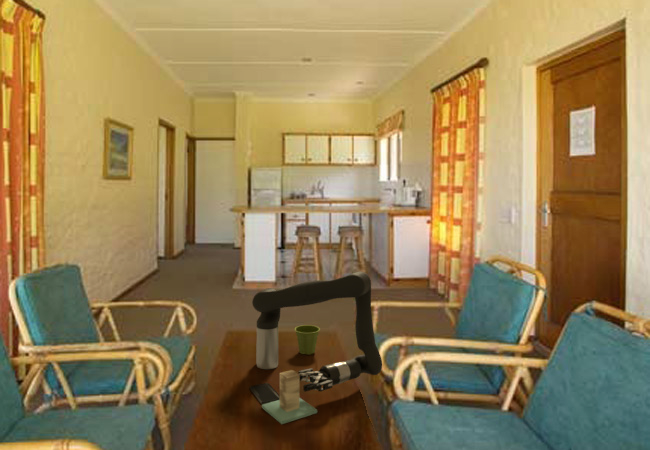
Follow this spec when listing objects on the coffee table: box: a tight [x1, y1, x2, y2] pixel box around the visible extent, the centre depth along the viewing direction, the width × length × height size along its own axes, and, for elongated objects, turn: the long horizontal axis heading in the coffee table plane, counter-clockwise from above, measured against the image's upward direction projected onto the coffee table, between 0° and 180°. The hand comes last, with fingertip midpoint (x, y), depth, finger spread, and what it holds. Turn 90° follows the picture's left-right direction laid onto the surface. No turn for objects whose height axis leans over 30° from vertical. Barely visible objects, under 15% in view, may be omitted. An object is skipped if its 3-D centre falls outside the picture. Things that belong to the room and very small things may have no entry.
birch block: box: [279, 369, 301, 412], centre depth 163 cm, size 5×5×12 cm
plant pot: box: [294, 324, 321, 356], centre depth 219 cm, size 12×12×11 cm
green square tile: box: [261, 396, 318, 425], centre depth 163 cm, size 14×14×1 cm
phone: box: [249, 382, 280, 405], centre depth 176 cm, size 8×1×15 cm
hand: (297, 384), depth 165 cm, fingers open, 8 cm apart
